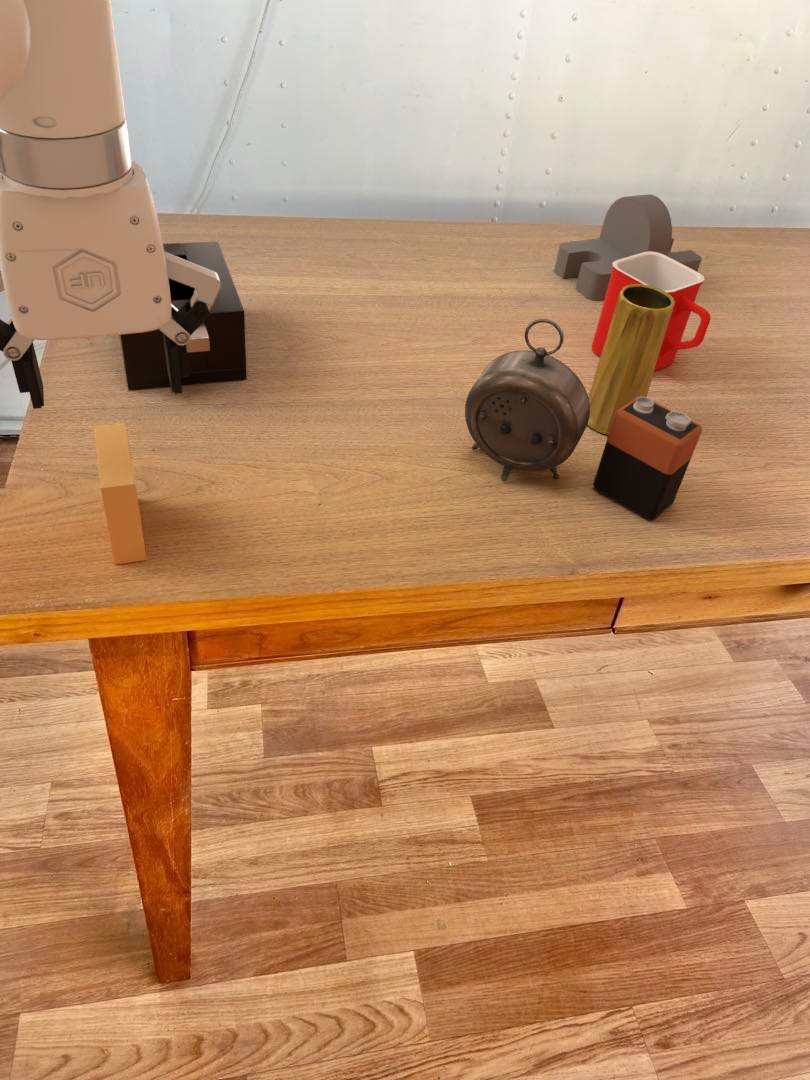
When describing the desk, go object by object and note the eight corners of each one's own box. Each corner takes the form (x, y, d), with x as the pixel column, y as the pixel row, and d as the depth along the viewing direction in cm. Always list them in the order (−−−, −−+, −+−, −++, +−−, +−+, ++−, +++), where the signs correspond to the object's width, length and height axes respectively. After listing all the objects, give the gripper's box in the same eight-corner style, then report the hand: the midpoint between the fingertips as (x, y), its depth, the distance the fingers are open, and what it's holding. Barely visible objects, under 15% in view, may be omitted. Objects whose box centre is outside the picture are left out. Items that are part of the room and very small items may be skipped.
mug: (583, 348, 102) (605, 263, 95) (628, 331, 106) (653, 249, 99) (660, 397, 96) (691, 310, 89) (706, 377, 100) (738, 293, 93)
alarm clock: (573, 474, 84) (617, 324, 73) (557, 505, 80) (600, 352, 69) (470, 438, 86) (497, 289, 75) (449, 467, 83) (474, 314, 72)
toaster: (128, 390, 87) (118, 319, 82) (115, 313, 98) (105, 245, 92) (246, 379, 90) (244, 310, 85) (221, 306, 101) (218, 241, 96)
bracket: (696, 284, 118) (723, 206, 111) (591, 301, 111) (612, 219, 104) (653, 254, 124) (676, 178, 117) (550, 269, 118) (568, 189, 110)
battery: (650, 524, 79) (684, 436, 72) (589, 488, 82) (617, 401, 76) (674, 504, 82) (709, 417, 75) (614, 470, 85) (642, 384, 78)
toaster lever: (167, 354, 82) (166, 340, 81) (164, 338, 84) (162, 324, 83) (210, 351, 83) (209, 337, 82) (205, 335, 85) (204, 321, 84)
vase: (580, 431, 89) (616, 305, 80) (581, 400, 94) (615, 277, 84) (639, 441, 89) (682, 316, 79) (636, 409, 93) (677, 287, 84)
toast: (114, 565, 69) (100, 488, 64) (107, 501, 74) (93, 425, 69) (146, 560, 70) (135, 483, 64) (137, 497, 75) (125, 422, 70)
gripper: (-102, 179, 46) (-21, 435, 58) (220, 168, 51) (235, 406, 63) (-91, 131, 52) (-19, 375, 63) (201, 125, 56) (218, 352, 68)
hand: (108, 390), depth 63 cm, fingers open, 9 cm apart
